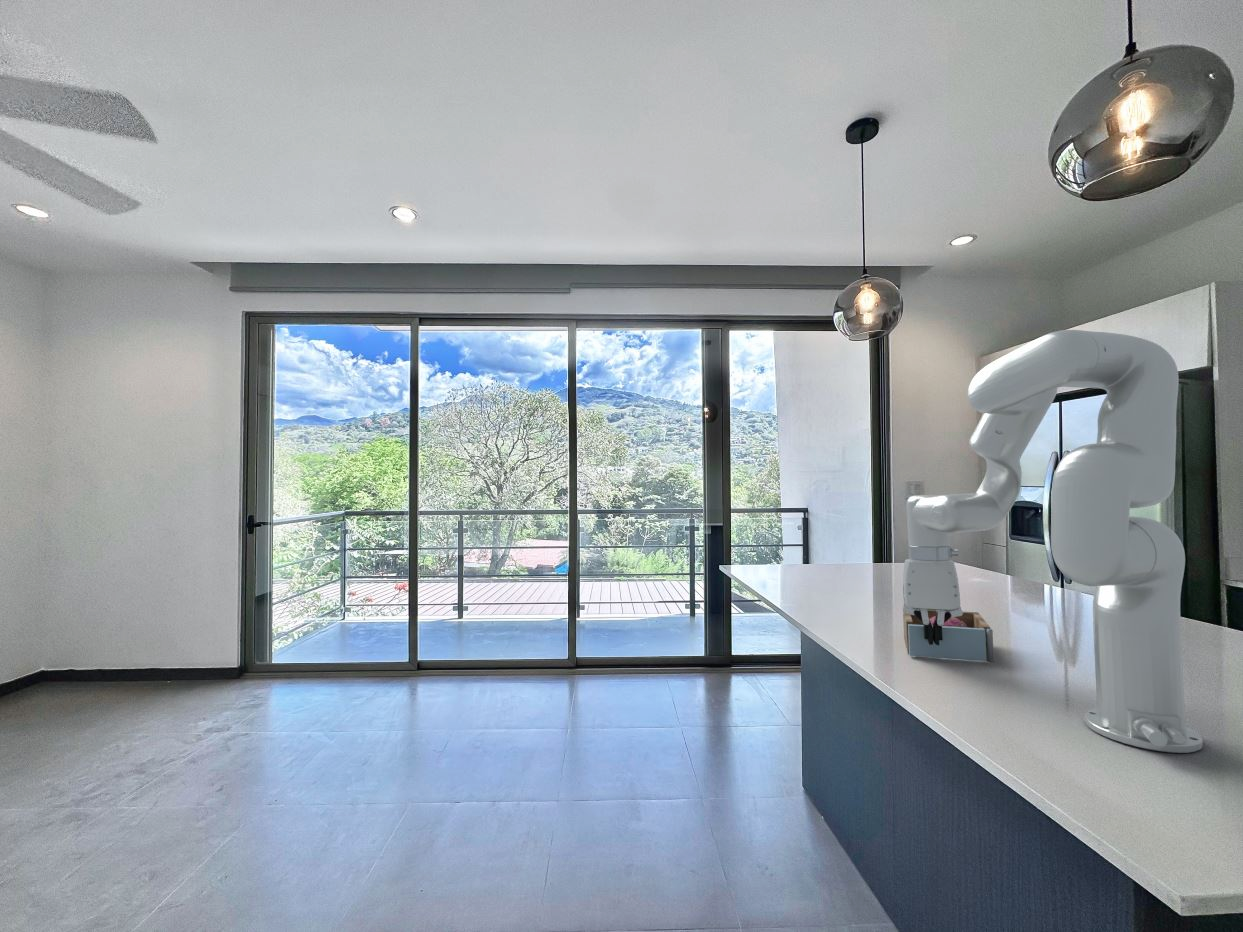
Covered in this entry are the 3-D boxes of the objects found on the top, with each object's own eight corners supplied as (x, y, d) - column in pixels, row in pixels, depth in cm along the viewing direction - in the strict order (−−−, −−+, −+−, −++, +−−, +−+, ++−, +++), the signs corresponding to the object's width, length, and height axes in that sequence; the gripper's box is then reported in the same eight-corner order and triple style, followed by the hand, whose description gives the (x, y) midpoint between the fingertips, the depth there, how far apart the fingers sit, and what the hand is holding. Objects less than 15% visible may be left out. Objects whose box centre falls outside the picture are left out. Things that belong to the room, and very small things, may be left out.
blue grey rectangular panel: (994, 662, 113) (993, 630, 113) (909, 655, 118) (908, 625, 118) (993, 660, 114) (991, 628, 114) (909, 654, 119) (908, 624, 119)
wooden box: (991, 661, 114) (990, 627, 114) (907, 654, 120) (906, 621, 121) (979, 643, 127) (978, 612, 127) (904, 637, 133) (902, 607, 133)
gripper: (967, 552, 116) (972, 641, 116) (888, 551, 122) (892, 635, 121) (974, 557, 109) (979, 651, 109) (890, 555, 115) (894, 645, 115)
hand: (933, 643), depth 115 cm, fingers closed
